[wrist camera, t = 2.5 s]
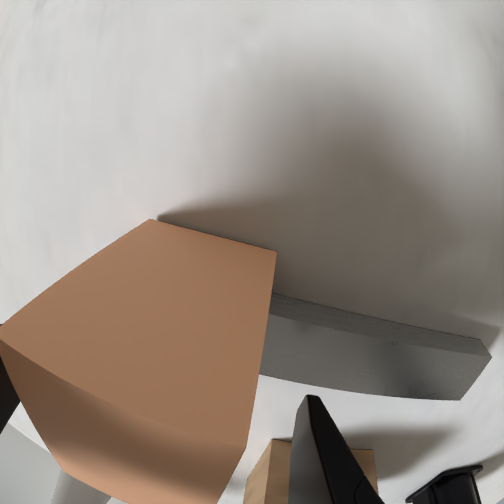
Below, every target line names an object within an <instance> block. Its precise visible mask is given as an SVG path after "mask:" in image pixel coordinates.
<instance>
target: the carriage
mask: <svg viewBox="0 0 504 504" xmlns="http://www.w3.org/2000/svg"><path fill="white" fill-rule="evenodd" d="M276 257H277V252H275V251H271V250H267V249H264V248H260V247H256V246H252V245H248V244H245V243H241V242H237V241H233V240H229V239H225V238H222V237H218V236H214V235H210V234H206V233H202V232H199V231H195V230H191V229H187V228H183V227H179V226H175V225H172V224H168V223H164V222H160V221H156V220H152V219H149V220H147V221H146V222H144V223H142V224H141V225H139V226H138V227H136V228H134V229H133V230H131V231H130V232H128V233H127V234H125V235H124V236H122V237H120V238H119V239H117V240H116V241H114V242H113V243H111V244H110V245H108V246H107V247H105V248H104V249H102V250H101V251H99V252H98V253H96V254H95V255H94V256H92V257H91V258H89V259H88V260H86V261H85V262H83V263H82V264H81V265H79V266H78V267H76V268H75V269H74V270H72V271H71V272H69V273H68V274H67V275H65V276H64V277H62V278H61V279H60V280H58V281H57V282H56V283H54V284H53V285H52V286H50V287H49V288H48V289H46V290H45V291H44V292H42V293H41V294H40V295H38V296H37V297H36V298H35V299H33V300H32V301H31V302H29V303H28V304H27V305H26V306H24V307H23V308H22V309H21V310H19V311H18V312H17V313H16V314H14V315H13V316H12V317H11V318H10V319H8V320H7V321H6V322H5V323H4V324H2V325H1V326H0V356H1V358H2V361H3V363H4V366H5V368H6V370H7V373H8V375H9V377H10V380H11V382H12V384H13V386H14V388H15V390H16V392H17V395H18V397H19V399H20V401H21V403H22V405H23V406H24V408H25V410H26V412H27V414H28V416H29V418H30V419H31V421H32V423H33V425H34V426H35V428H36V430H37V432H38V433H39V435H40V437H41V438H42V440H43V441H44V443H45V445H46V446H47V448H48V449H49V451H50V452H51V454H52V455H53V457H54V458H55V459H56V461H57V462H58V464H59V465H60V467H61V468H62V470H63V471H64V472H66V473H67V474H69V475H71V476H73V477H74V478H76V479H78V480H80V481H82V482H83V483H85V484H87V485H89V486H91V487H93V488H95V489H97V490H99V491H101V492H103V493H105V494H108V495H110V496H112V497H114V498H117V499H119V500H121V501H123V502H126V503H128V504H217V502H218V500H219V499H220V497H221V495H222V493H223V491H224V489H225V488H226V486H227V484H228V482H229V480H230V478H231V476H232V474H233V472H234V470H235V469H236V467H237V465H238V463H239V461H240V459H241V457H242V455H243V453H244V451H245V449H246V446H247V440H248V435H249V429H250V423H251V418H252V412H253V406H254V400H255V394H256V388H257V382H258V376H259V370H260V364H261V358H262V352H263V345H264V339H265V333H266V326H267V319H268V313H269V306H270V299H271V293H272V286H273V279H274V272H275V265H276Z"/></svg>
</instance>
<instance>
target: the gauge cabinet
mask: <svg viewBox="0 0 504 504" xmlns="http://www.w3.org/2000/svg"><path fill="white" fill-rule="evenodd" d="M291 445H292V442H286V441H280V440H274V439H272V440H271V442H270V443H269V445H268V447H267V448H266V450H265V452H264V453H263V455H262V456H261V458H260V460H259V461H258V463H257V465H256V466H255V468H254V469H253V471H252V472H251V474H250V475H249V477H248V479H247V484H246V489H245V495H244V500H243V504H288V490H289V469H290V452H291ZM350 450H351V452H352V453H353V455H354V457H355V458H356V460H357V462H358V463H359V465H360V467H361V468H362V470H363V472H364V473H365V474H364V475H366V476H367V478H368V480H369V481H370V483H371V485H372V486H373V488H374V489H375V491H376V492H377V494H378V486H377V477H376V470H375V462H374V455H373V450H360V449H350ZM378 495H379V494H378Z"/></svg>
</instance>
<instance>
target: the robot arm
mask: <svg viewBox="0 0 504 504" xmlns="http://www.w3.org/2000/svg"><path fill="white" fill-rule="evenodd" d="M3 324H4V323H3ZM1 325H2V324H0V326H1ZM19 403H20V399H19V397H18V395H17V392H16V390H15V388H14V386H13V384H12V382H11V380H10V377H9V375H8V373H7V370H6V368H5V366H4V363H3V361H2V358H1V356H0V434H1V432H2V431H3V429H4V427H5V425H6V424H7V422H8V420H9V419H10V417H11V416H12V414H13V412H14V411H15V409H16V408H17V406H18V404H19ZM482 469H483V466H482V465H480V466H476V467H471V468H466V469H461V470H455V471H449V472H444V473H442V474H440V475H439V476H438V477H436V478H435V479H434V480H432V481H431V482H430V483H428V484H427V485H426V486H424V487H423V488H421V489H420V490H419V491H417V492H416V493H414V494H413V495H411V496H410V497H408V498H407V499H406V500H405V502H406V503H413V504H481V500H480V496H479V492H478V489H477V485H476V482H475V479H474V476H475V475H476V474H478V473H479V472H480V471H481V470H482ZM364 474H365V473H364V472H363V470H362V468H361V467H360V465H359V463H358V462H357V460H356V458H355V457H354V455H353V453H352V452H351V450H350V448H349V446H348V445H347V443H346V441H345V440H344V438H343V436H342V435H341V433H340V431H339V430H338V428H337V426H336V424H335V423H334V421H333V419H332V418H331V416H330V414H329V413H328V411H327V409H326V407H325V406H324V404H323V402H322V401H321V399H320V397H318V396H315V395H309V394H308V395H306V396H305V397H304V399H303V401H302V403H301V405H300V406H299V408H298V410H297V414H296V420H295V427H294V433H293V439H292V445H291V452H290V469H289V490H288V504H385V503H384V502H383V501H382V499H381V498H380V497H379V495H378V494H377V492H376V491H375V489H374V488H373V486H372V485H371V483H370V481H369V480H368V478H367V476H366V475H364Z"/></svg>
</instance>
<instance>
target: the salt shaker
mask: <svg viewBox="0 0 504 504" xmlns="http://www.w3.org/2000/svg"><path fill="white" fill-rule="evenodd" d="M111 497H112V496H110V495H108V494H105V493H103V492H101V491H99V490H97V489H95V488H93V487H91V486H89V485H87V484H85V483H83V482H82V481H80V480H78V479H76V478H74V477H73V476H71V475H69V474H67V473H66V472H64V471H63V470H62V469H61V472H60V475H59V478H58V482H57V485H56V488H55V492H54V495H53V499H52V503H51V504H106V503H107V502H108V501H109V499H110V498H111Z"/></svg>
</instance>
